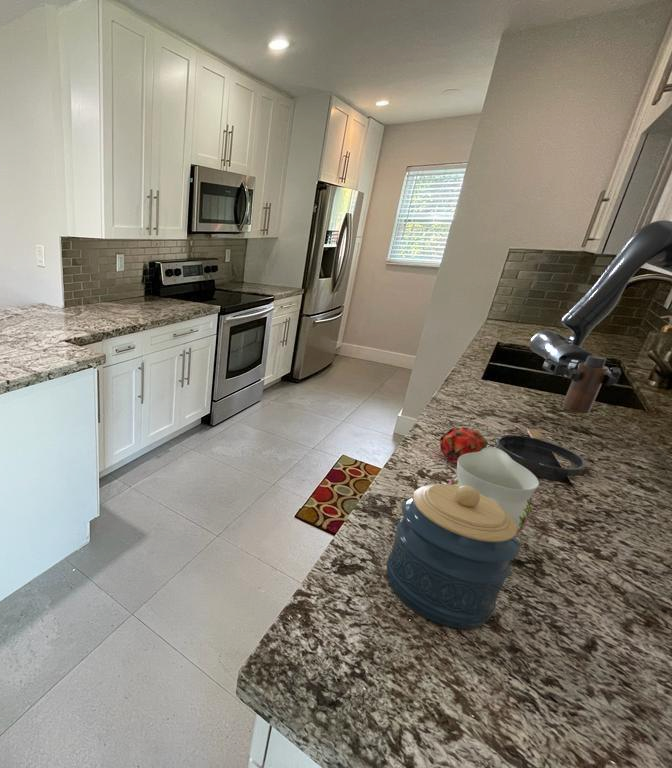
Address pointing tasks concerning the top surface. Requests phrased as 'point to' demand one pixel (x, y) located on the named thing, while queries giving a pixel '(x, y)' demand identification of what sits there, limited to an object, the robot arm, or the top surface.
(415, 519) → the canister
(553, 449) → the pan
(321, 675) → the top surface
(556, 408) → the top surface
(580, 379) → the pepper mill
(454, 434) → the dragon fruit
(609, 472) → the top surface
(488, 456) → the pitcher
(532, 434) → the trivet
